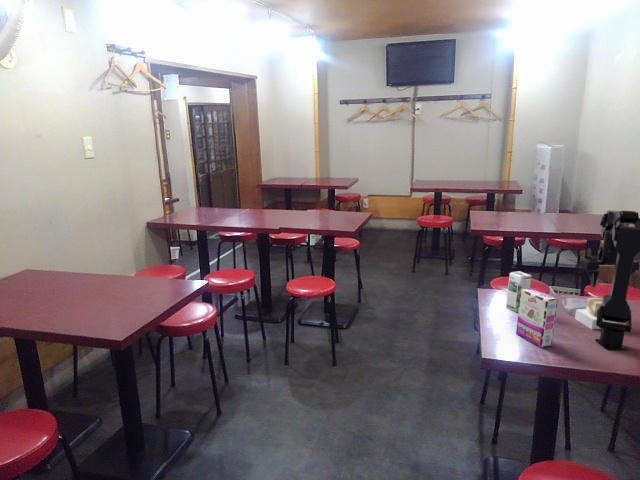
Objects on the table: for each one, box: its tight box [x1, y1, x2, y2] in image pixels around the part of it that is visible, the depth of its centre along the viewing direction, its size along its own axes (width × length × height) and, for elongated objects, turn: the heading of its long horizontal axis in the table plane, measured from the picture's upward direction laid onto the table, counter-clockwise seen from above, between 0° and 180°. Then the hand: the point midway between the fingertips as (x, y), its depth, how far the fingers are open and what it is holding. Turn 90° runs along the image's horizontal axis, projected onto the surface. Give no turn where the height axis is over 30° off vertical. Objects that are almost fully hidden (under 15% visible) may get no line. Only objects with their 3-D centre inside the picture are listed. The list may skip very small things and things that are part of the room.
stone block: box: [561, 297, 588, 317], centre depth 173 cm, size 12×5×10 cm
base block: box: [574, 309, 617, 330], centre depth 162 cm, size 9×9×4 cm
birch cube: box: [586, 297, 604, 317], centre depth 161 cm, size 5×5×5 cm
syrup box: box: [505, 271, 532, 313], centre depth 173 cm, size 6×6×14 cm
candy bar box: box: [515, 287, 559, 349], centre depth 148 cm, size 11×5×16 cm, turn 21°
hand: (605, 286), depth 164 cm, fingers open, 9 cm apart
